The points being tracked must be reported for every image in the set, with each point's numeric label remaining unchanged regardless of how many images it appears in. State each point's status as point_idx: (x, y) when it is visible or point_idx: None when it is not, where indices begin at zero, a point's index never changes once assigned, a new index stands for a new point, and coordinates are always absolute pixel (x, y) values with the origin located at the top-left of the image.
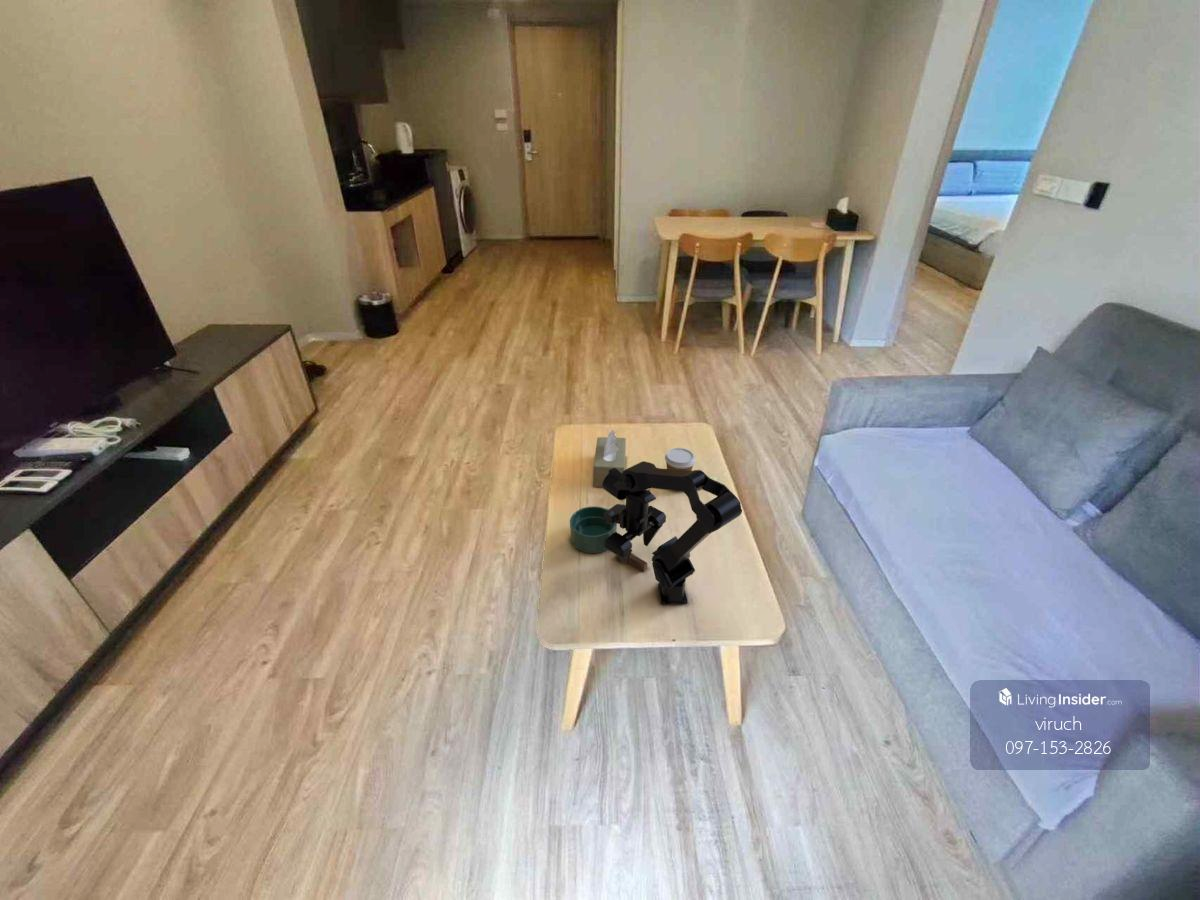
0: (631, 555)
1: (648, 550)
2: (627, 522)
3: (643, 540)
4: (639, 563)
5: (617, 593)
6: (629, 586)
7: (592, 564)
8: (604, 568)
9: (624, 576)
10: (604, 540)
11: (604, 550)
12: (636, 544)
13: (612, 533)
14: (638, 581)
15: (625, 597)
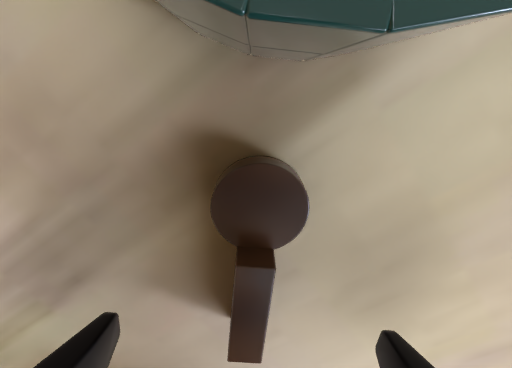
0: (257, 273)
1: (392, 265)
2: None
3: (406, 365)
4: (229, 335)
5: (23, 299)
6: None
7: (46, 42)
8: (91, 144)
9: (136, 268)
10: (175, 8)
11: (208, 37)
12: (412, 186)
13: (341, 45)
14: (162, 329)
15: (40, 334)
